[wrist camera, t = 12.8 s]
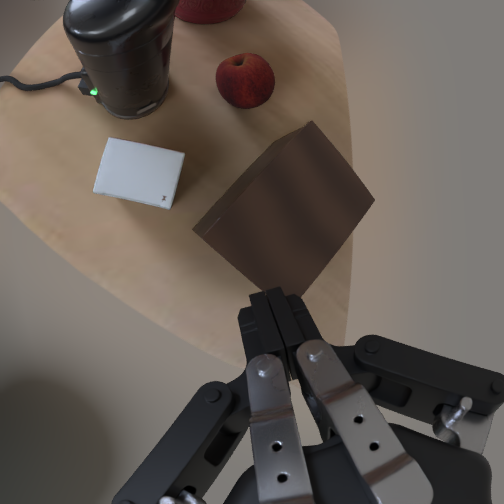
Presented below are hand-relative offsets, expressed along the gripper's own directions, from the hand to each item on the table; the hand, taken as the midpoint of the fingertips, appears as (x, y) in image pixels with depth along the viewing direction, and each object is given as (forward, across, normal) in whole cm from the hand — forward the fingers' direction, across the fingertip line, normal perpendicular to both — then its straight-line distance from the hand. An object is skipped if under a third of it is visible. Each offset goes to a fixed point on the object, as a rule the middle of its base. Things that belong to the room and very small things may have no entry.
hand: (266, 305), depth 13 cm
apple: (+31, -5, -11) cm, 33 cm away
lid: (+17, -7, +4) cm, 19 cm away
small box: (+25, +10, -3) cm, 27 cm away
